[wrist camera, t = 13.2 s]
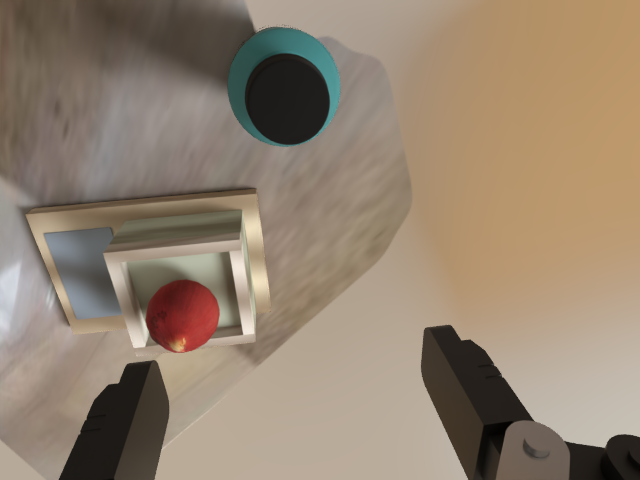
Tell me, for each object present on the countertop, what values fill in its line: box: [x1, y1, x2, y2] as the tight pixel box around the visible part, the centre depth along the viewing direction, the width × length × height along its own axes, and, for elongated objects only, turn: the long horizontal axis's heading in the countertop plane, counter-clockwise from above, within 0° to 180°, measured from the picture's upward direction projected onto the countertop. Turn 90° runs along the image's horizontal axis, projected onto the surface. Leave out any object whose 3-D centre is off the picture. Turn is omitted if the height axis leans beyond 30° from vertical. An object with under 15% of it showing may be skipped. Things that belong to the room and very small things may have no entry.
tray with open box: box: [25, 189, 271, 356], centre depth 40 cm, size 14×21×8 cm, turn 93°
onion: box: [145, 279, 220, 353], centre depth 35 cm, size 6×6×8 cm
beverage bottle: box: [228, 27, 340, 147], centre depth 28 cm, size 6×7×20 cm
